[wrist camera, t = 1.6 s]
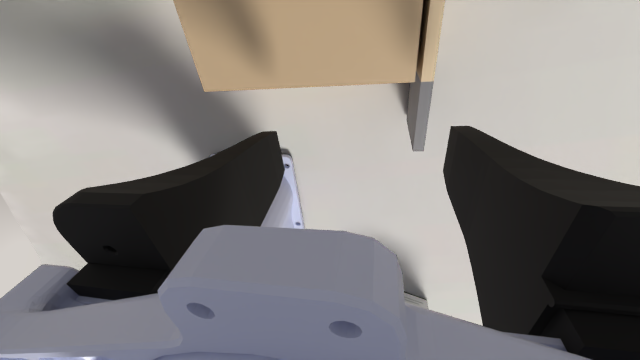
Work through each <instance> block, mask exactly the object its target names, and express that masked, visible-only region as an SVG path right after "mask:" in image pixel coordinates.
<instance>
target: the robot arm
mask: <svg viewBox="0 0 640 360" xmlns="http://www.w3.org/2000/svg"><path fill="white" fill-rule="evenodd" d="M285 164H288V165H289V166H286V165H285ZM443 173H444V178H445V184H446V188H447V192H448V195H449V198H450V200H451V203H452V206H453V209H454V211H455V214H456V216H457V219H458V222H459V224H460V227H461V230H462V232H463V235H464V239H465V242H466V245H467V249H468V254H469V258H470V262H471V266H472V271H473V276H474V281H475V285H476V290H477V295H478V301H479V306H480V312H481V317H482V323H483V326H481V325H478V324H474V323H471V322H468V321H465V320H461V319H458V318H455V317H452V316H448V315H445V314H442V313H439V312H435V311H432V310H429V309H425V308H422V307H419V306H416V305H412V304H409V303H406V302H405V299H404V286H403V273H402V270H401V268H400V265H399V262H398V259H397V256H396V254H395V253H393V252H392V251H391V250H389V249H388V248H386V247H385V246H384V245H382V244H381V243H380V242H378V241H377V240H376V239H374V238H372V237H367V236H363V235H359V234H355V233H351V232H347V231H334V230H315V229H305V228H304V222H303V217H302V211H301V206H300V200H299V194H298V189H297V183H296V178H295V172H294V166H293V161H292V157H291V156H289V155H286V154H281V150H280V145H279V141H278V136H277V132H276V131H269V132H261V133H258V134H256V135H253V136H251V137H249V138H247V139H245V140H243V141H241V142H239V143H237V144H236V145H234V146H232V147H230V148H228V149H225V150H223V151H221V152H219V153H217V154H211V155H210V156H209V157H208V158H206V159H204V160H201V161H199V162H196V163H193V164H191V165H188V166H185V167H182V168H179V169H176V170H172V171H169V172H166V173H162V174H159V175H155V176H151V177H147V178H142V179H137V180H133V181H128V182H122V183H116V184H110V185H103V186H97V187H90V188H85V189H82V190H80V191H78V192H77V193H75V194H74V195H73V196H71V197H70V198H68V199H67V200H65V201H64V202H62V203H61V204H59V205H58V206H56V207H55V209H54V211H53V221H54V224H55V226H56V228H57V230H58V231H59V232H60V234H61V235H62V236H63V237H64V238H65V239H66V240H67V242H68V243H69V244H70V245H71V246H72V247H73V248H74V249H75V250H76V251H77V252H78V253H79V254H80V255H81V257H82V258H83V259H84V260H85V261H86V262H87V263H88V264H87V265H86V266H84V267H83V268H82V269H81V270H80V271H78V270H76V269H74V268H72V267H67V266H58V265H48V264H44V265H41V266H39V267H38V268H37V269H36V270H35V271H33V272H32V273H31V274H30V275H29V276H27V277H26V278H25V279H24V280H22V281H21V282H20V283H19V284H18V285H17V286H15V287H14V288H13V289H11V290H10V291H9V292H8V293H7V294H5V295H4V296H3V297H2V298H1V299H0V360H640V186H635V185H630V184H625V183H621V182H617V181H612V180H608V179H604V178H600V177H596V176H593V175H589V174H585V173H581V172H578V171H574V170H571V169H568V168H565V167H562V166H559V165H556V164H553V163H550V162H547V161H544V160H542V159H539V158H537V157H534V156H532V155H529V154H527V153H525V152H522V151H520V150H518V149H516V148H514V147H511V146H509V145H507V144H505V143H503V142H501V141H499V140H497V139H495V138H493V137H491V136H489V135H488V134H486V133H484V132H482V131H480V130H477V129H475V128H473V127H470V126H451V129H450V135H449V140H448V146H447V152H446V157H445V163H444V169H443ZM298 222H299V223H298Z"/></svg>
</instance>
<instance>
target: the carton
mask: <svg viewBox="0 0 640 360" xmlns="http://www.w3.org/2000/svg"><path fill="white" fill-rule="evenodd" d="M173 1H174V4H175V7H176V10H177V13H178V16H179V19H180V22H181V25H182V28H183V30H184V33H185V36H186V39H187V42H188V45H189V48H190V51H191V54H192V57H193V60H194V63H195V66H196V69H197V72H198V75H199V78H200V81H201V84H202V87H203V90H204V92H211V91H233V90H255V89H277V88H299V87H321V86H343V85H365V84H387V83H409V82H415V75H416V65H417V55H418V46H419V36H420V26H421V16H422V7H423V0H173Z"/></svg>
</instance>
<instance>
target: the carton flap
mask: <svg viewBox="0 0 640 360" xmlns="http://www.w3.org/2000/svg"><path fill="white" fill-rule="evenodd" d="M444 4H445V0H423V7H422V16H421V26H420V36H419V46H418V55H417V65H416V75H415V82H410V89H409V100H408V110H407V124H408V129H409V134H410V139H411V144H412V149H413V151H424V145H425V138H426V131H427V124H428V117H429V110H430V103H431V96H432V89H433V82H434V75H435V68H436V60H437V53H438V46H439V39H440V32H441V25H442V18H443V11H444Z"/></svg>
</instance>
